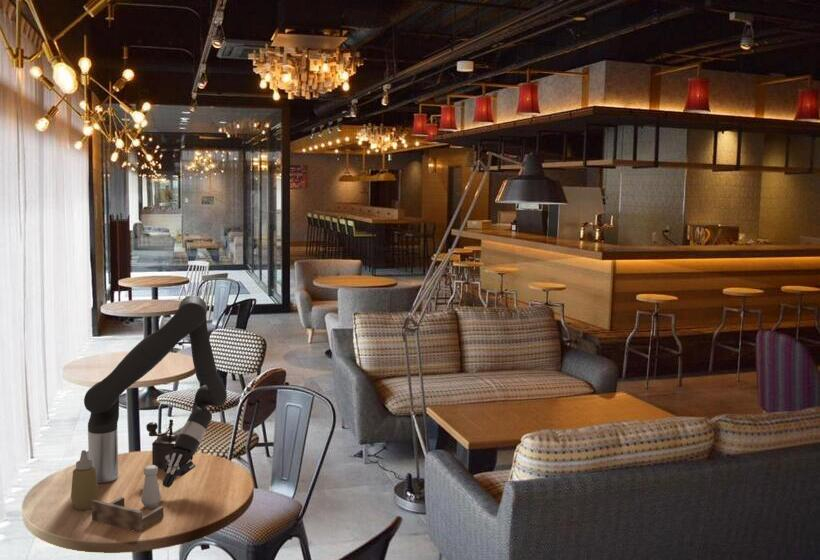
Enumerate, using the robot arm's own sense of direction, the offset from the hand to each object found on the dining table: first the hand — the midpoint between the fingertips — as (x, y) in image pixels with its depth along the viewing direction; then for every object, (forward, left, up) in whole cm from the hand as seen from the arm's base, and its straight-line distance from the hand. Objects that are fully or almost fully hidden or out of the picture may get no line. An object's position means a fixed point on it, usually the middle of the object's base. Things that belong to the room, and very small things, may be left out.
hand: (165, 486), depth 240 cm
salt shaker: (0, -7, -4) cm, 8 cm away
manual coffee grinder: (-17, +21, -4) cm, 28 cm away
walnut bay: (0, -16, -4) cm, 17 cm away
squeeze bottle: (-18, -16, -4) cm, 24 cm away
